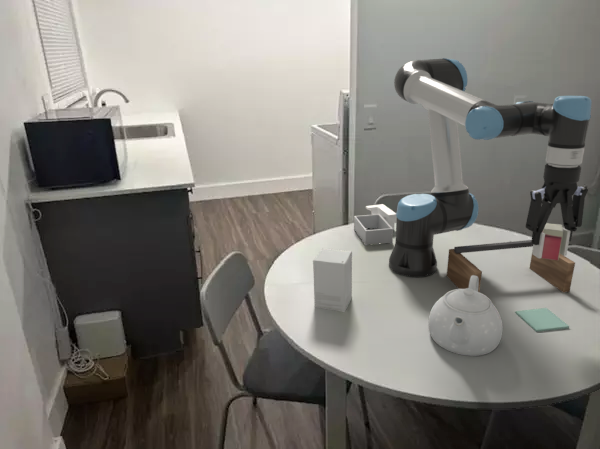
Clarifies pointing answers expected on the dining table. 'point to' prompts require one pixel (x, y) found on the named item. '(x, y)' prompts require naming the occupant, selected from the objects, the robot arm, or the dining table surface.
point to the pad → (542, 319)
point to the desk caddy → (373, 236)
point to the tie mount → (548, 269)
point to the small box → (552, 241)
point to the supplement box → (333, 279)
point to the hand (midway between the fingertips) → (549, 254)
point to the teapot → (466, 321)
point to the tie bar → (493, 246)
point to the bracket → (384, 213)
